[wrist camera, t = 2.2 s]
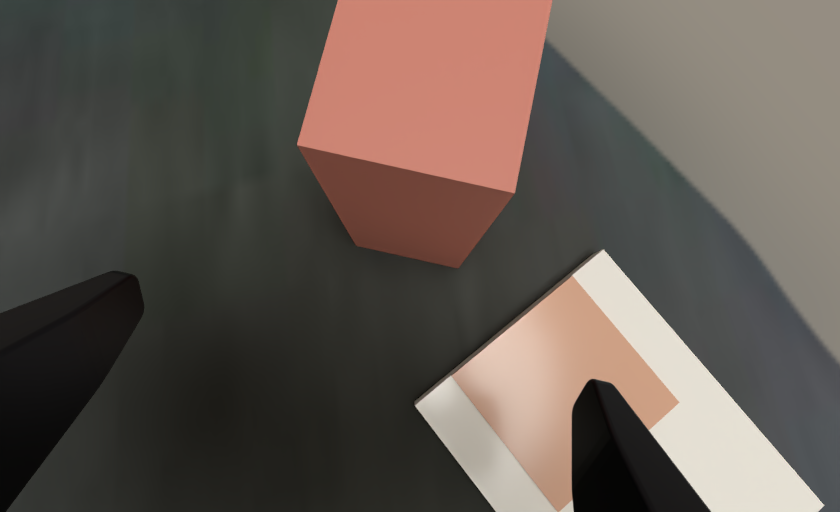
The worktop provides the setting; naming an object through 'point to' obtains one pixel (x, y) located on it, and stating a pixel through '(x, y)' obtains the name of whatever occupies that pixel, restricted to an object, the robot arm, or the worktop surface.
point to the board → (565, 379)
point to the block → (423, 119)
